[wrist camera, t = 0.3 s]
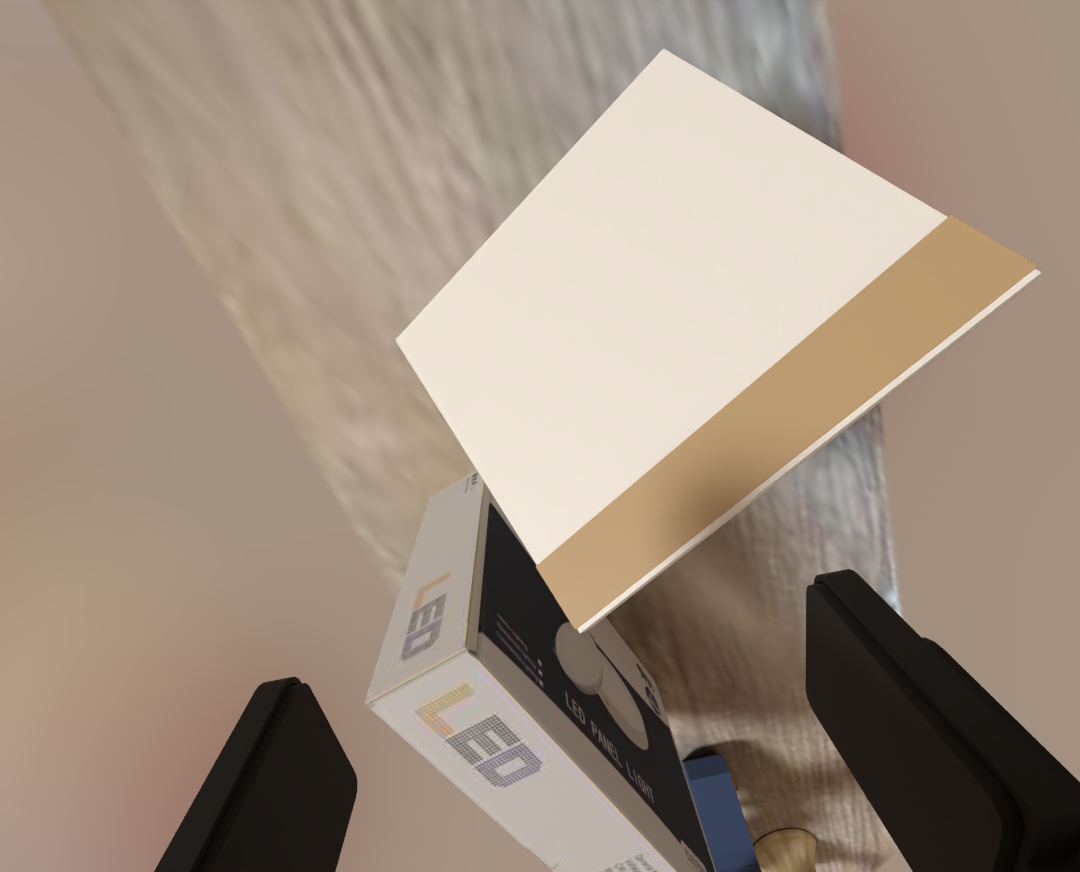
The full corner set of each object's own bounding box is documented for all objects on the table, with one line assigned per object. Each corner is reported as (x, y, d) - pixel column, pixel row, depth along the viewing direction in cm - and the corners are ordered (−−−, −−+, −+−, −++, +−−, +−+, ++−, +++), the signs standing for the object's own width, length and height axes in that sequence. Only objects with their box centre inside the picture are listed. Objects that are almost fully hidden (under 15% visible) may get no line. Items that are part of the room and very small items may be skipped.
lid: (667, 62, 24) (662, 44, 24) (1031, 284, 16) (1044, 269, 15) (405, 345, 29) (392, 338, 28) (587, 630, 21) (577, 634, 20)
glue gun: (674, 755, 70) (713, 895, 63) (667, 774, 45) (732, 1016, 37) (717, 746, 70) (761, 886, 62) (735, 759, 44) (816, 1003, 36)
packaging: (657, 684, 51) (739, 937, 33) (606, 709, 52) (657, 970, 34) (488, 461, 41) (468, 647, 23) (428, 498, 42) (361, 705, 24)
